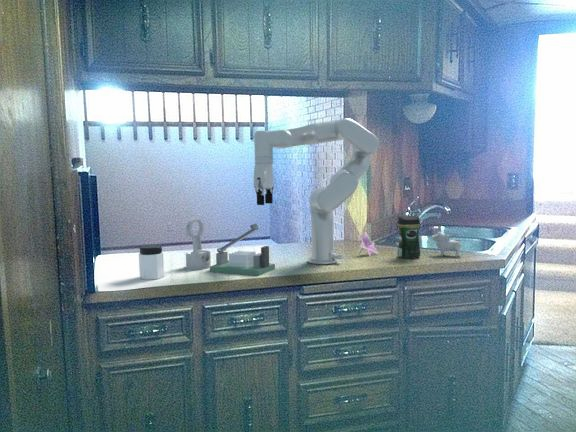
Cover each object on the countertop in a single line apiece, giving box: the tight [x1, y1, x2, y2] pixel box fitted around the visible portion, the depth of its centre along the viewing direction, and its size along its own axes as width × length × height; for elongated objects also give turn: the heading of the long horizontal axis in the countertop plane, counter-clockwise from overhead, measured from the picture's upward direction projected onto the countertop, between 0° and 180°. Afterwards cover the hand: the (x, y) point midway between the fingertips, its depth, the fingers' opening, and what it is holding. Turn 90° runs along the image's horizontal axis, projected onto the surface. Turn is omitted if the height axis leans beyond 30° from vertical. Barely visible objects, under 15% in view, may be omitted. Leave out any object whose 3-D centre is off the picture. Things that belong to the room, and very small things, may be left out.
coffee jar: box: [396, 215, 421, 259], centre depth 237 cm, size 10×8×19 cm
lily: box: [357, 231, 380, 257], centre depth 245 cm, size 12×12×10 cm
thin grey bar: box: [216, 223, 260, 253], centre depth 215 cm, size 19×4×3 cm, turn 65°
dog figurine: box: [431, 231, 462, 258], centre depth 240 cm, size 5×13×11 cm, turn 69°
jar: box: [138, 244, 165, 281], centre depth 203 cm, size 9×8×12 cm
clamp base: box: [209, 245, 276, 277], centre depth 215 cm, size 22×14×10 cm, turn 66°
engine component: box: [185, 217, 212, 271], centre depth 220 cm, size 11×20×10 cm
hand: (264, 203), depth 223 cm, fingers open, 6 cm apart
